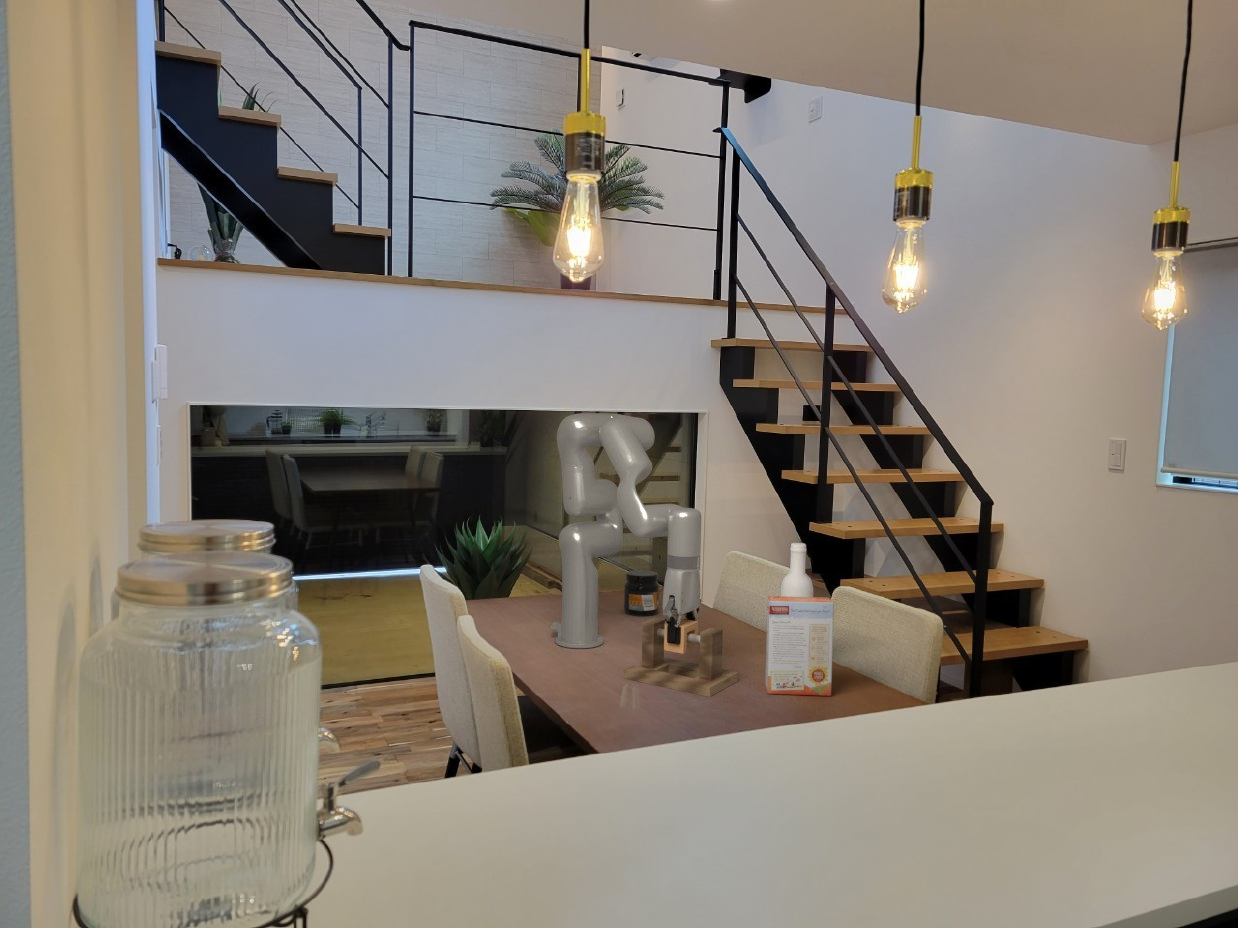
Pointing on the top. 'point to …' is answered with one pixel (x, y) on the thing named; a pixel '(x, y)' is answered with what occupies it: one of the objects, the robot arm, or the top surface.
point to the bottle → (797, 574)
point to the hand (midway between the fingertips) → (681, 639)
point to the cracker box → (799, 645)
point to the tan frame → (659, 669)
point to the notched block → (682, 636)
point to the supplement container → (641, 593)
